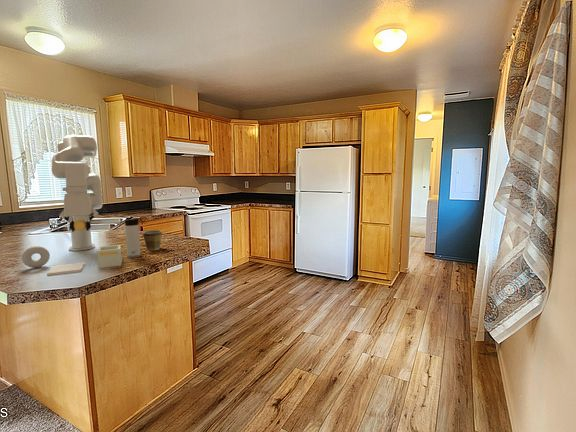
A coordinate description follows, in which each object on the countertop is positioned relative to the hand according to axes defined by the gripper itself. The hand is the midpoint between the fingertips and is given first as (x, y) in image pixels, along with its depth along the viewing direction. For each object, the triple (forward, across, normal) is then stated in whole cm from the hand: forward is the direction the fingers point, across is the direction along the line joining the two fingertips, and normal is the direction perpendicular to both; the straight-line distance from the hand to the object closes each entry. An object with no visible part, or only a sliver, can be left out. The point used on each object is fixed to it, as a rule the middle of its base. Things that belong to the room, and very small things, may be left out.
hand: (80, 230), depth 139 cm
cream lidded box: (+17, +10, +1) cm, 20 cm away
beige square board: (+17, -6, 0) cm, 19 cm away
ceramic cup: (+18, +29, +26) cm, 43 cm away
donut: (+18, -20, +9) cm, 28 cm away
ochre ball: (-2, 0, 0) cm, 2 cm away
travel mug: (+18, +20, +12) cm, 29 cm away
